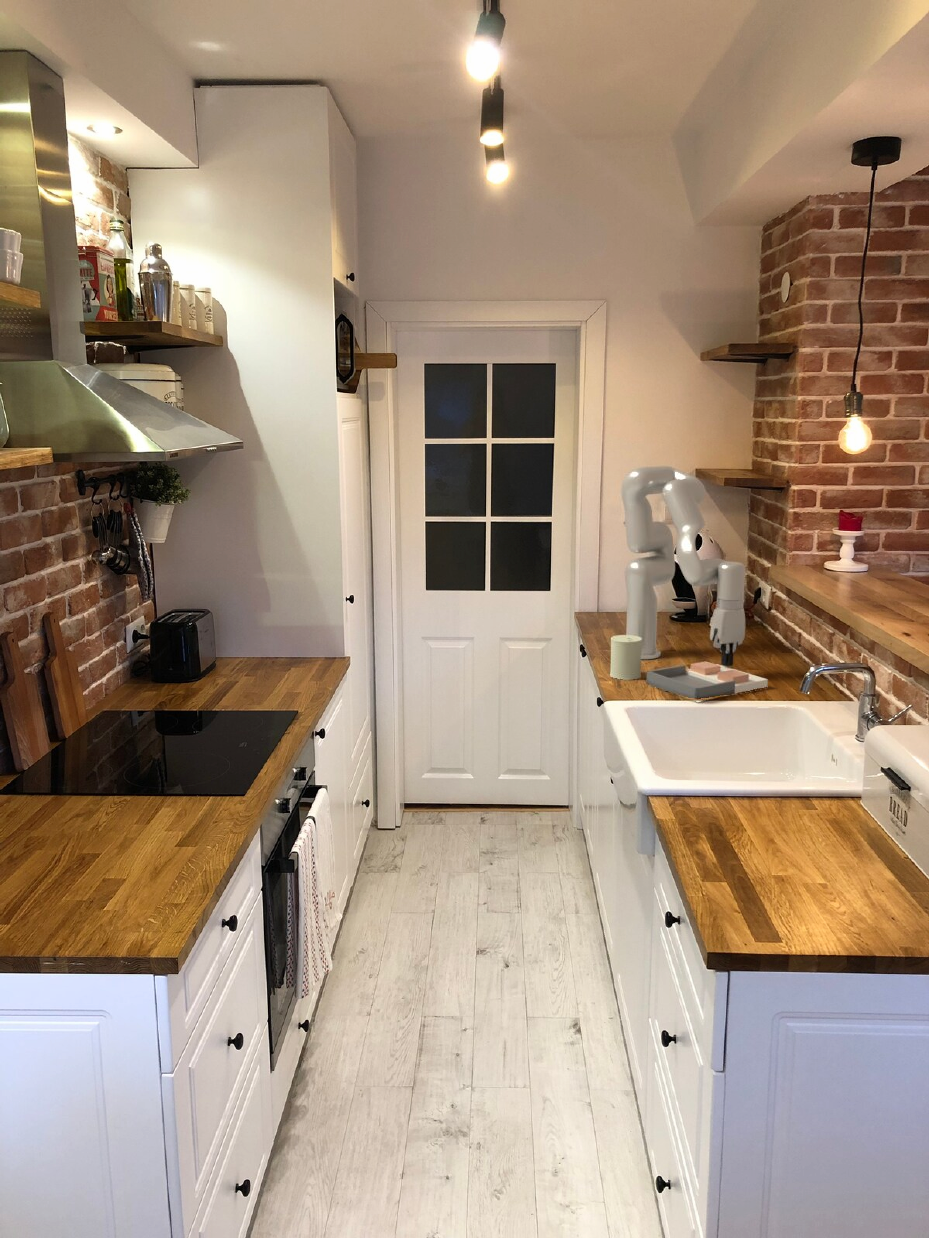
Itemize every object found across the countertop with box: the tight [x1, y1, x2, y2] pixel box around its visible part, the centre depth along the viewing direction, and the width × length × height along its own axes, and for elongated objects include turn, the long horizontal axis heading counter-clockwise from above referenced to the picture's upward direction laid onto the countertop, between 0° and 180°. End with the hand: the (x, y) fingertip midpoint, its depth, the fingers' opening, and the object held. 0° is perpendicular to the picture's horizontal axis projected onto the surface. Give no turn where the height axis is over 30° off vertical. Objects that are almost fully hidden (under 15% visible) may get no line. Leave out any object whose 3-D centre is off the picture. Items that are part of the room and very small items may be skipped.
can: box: [609, 634, 642, 681], centre depth 288 cm, size 9×9×12 cm
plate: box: [685, 663, 769, 693], centre depth 281 cm, size 20×13×2 cm, turn 30°
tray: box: [645, 664, 736, 699], centre depth 274 cm, size 21×14×4 cm
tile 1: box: [690, 660, 721, 675], centre depth 284 cm, size 6×6×2 cm
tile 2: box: [717, 669, 750, 684], centre depth 274 cm, size 6×6×2 cm
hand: (727, 665), depth 288 cm, fingers closed
